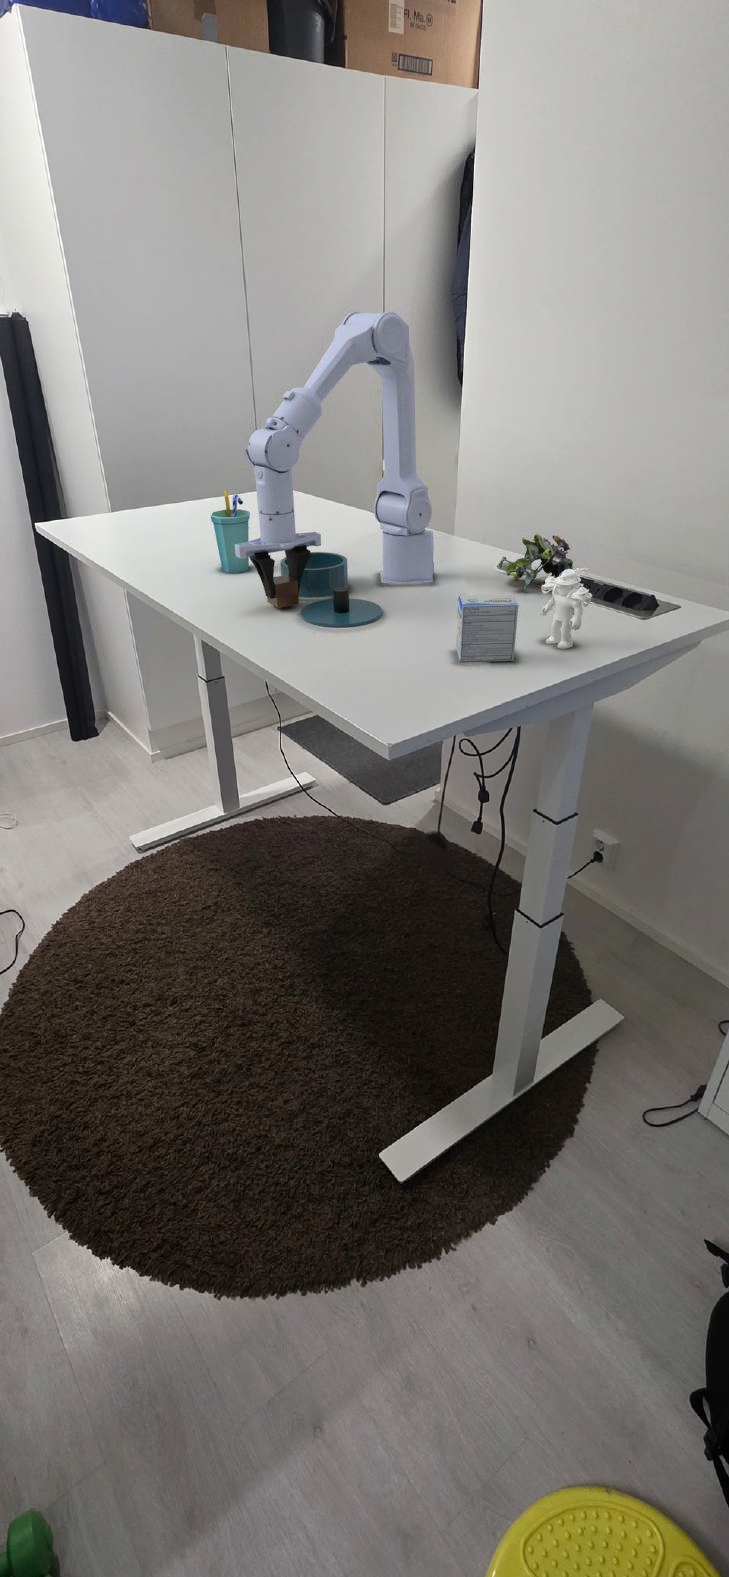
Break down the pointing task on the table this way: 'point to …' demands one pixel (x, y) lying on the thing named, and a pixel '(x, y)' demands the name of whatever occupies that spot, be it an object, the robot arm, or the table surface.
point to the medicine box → (486, 627)
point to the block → (285, 592)
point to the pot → (321, 574)
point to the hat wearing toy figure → (565, 605)
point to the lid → (341, 611)
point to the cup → (231, 534)
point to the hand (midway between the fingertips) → (282, 594)
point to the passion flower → (549, 556)
